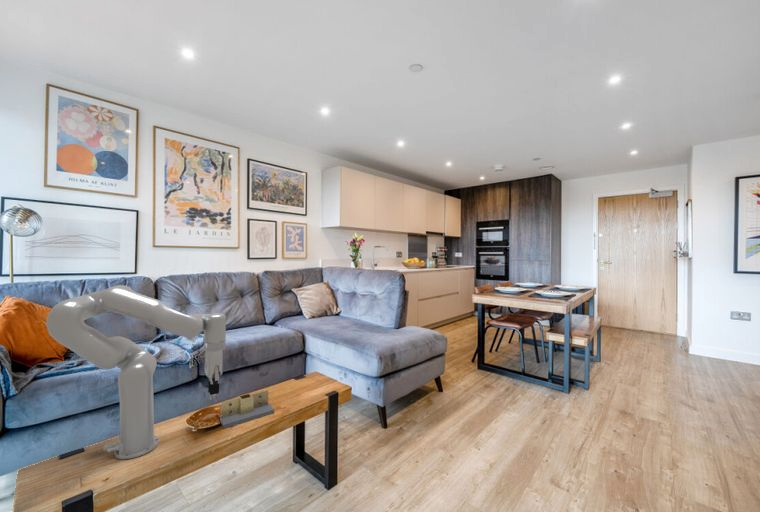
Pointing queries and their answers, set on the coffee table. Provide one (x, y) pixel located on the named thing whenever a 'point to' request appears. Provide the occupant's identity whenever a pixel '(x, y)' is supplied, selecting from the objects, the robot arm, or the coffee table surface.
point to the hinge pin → (213, 396)
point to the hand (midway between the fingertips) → (213, 392)
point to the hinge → (244, 403)
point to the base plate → (246, 416)
